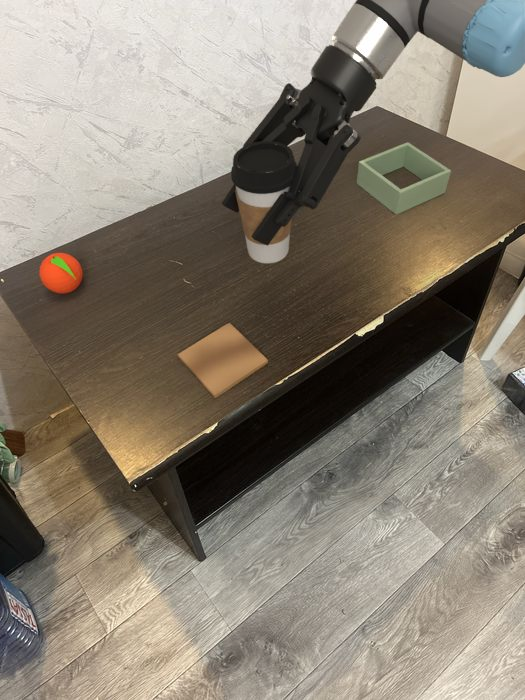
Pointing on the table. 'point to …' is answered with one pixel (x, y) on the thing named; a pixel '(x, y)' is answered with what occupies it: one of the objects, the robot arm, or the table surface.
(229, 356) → the trivet
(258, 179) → the coffee cup
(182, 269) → the table surface
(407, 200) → the holder
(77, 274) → the clementine
